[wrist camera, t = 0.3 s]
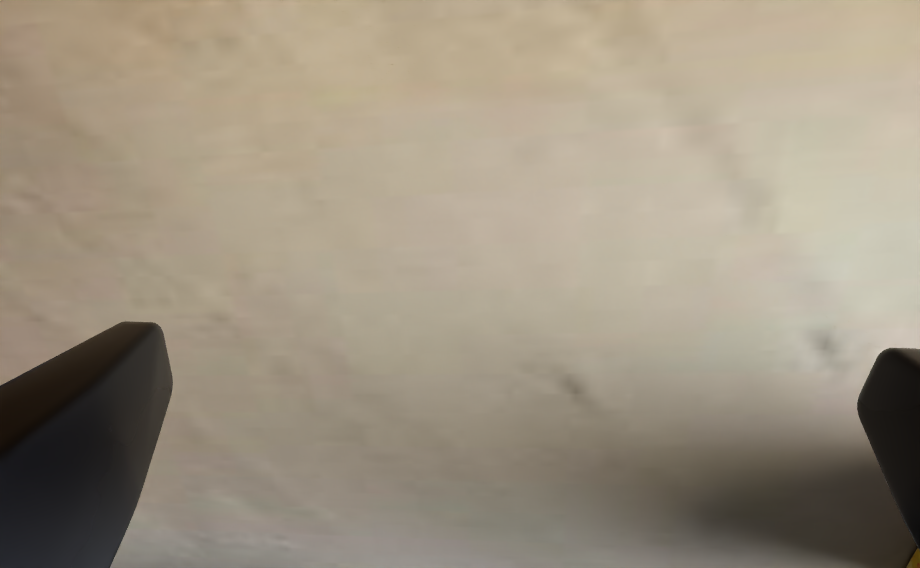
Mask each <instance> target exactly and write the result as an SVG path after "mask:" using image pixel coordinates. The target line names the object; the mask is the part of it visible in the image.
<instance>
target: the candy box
mask: <svg viewBox="0 0 920 568" xmlns="http://www.w3.org/2000/svg"><path fill="white" fill-rule="evenodd" d="M906 568H920V550H919V549H918V548H917V549H916V551H915V553H914V555H913V557H912V558H911V560H910V562H909V564H908V566H907V567H906Z"/></svg>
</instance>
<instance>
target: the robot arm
mask: <svg viewBox="0 0 920 568" xmlns="http://www.w3.org/2000/svg"><path fill="white" fill-rule="evenodd" d="M172 386H173V380H172V373H171V368H170V363H169V358H168V353H167V348H166V343H165V338H164V334H163V331H162V329H161V327H160V326H159V325H158V324H156V323H153V322H121V323H119V324H117V325H115V326H113V327H111V328H109V329H107V330H105V331H104V332H102V333H100V334H98V335H96V336H94V337H92V338H90V339H88V340H86V341H85V342H83V343H81V344H79V345H77V346H75V347H73V348H71V349H69V350H67V351H65V352H64V353H62V354H60V355H58V356H56V357H54V358H52V359H50V360H48V361H46V362H45V363H43V364H41V365H39V366H37V367H35V368H33V369H31V370H29V371H27V372H25V373H24V374H22V375H20V376H18V377H16V378H14V379H12V380H10V381H8V382H6V383H5V384H3V385H1V386H0V568H110V566H111V564H112V562H113V559H114V557H115V555H116V553H117V550H118V548H119V546H120V544H121V541H122V539H123V537H124V535H125V532H126V530H127V528H128V525H129V523H130V521H131V518H132V516H133V513H134V511H135V508H136V506H137V503H138V500H139V497H140V494H141V491H142V488H143V485H144V482H145V479H146V475H147V472H148V469H149V466H150V463H151V459H152V456H153V453H154V450H155V446H156V443H157V440H158V437H159V433H160V430H161V427H162V424H163V421H164V417H165V414H166V411H167V408H168V404H169V401H170V398H171V394H172ZM857 410H858V415H859V418H860V421H861V423H862V425H863V428H864V430H865V432H866V435H867V437H868V439H869V442H870V444H871V446H872V449H873V451H874V453H875V456H876V458H877V460H878V463H879V465H880V467H881V470H882V472H883V474H884V477H885V479H886V481H887V484H888V486H889V488H890V491H891V493H892V495H893V498H894V500H895V502H896V505H897V507H898V509H899V511H900V513H901V516H902V518H903V520H904V522H905V524H906V526H907V528H908V530H909V532H910V534H911V536H912V538H913V539H914V541H915V543H916V545H917V547H918V549H919V550H920V349H910V348H889V349H886V350H884V351H882V352H881V353H880V354H879V355H878V357H877V359H876V361H875V363H874V365H873V367H872V369H871V371H870V374H869V376H868V378H867V380H866V382H865V384H864V386H863V388H862V390H861V393H860V395H859V397H858V402H857Z"/></svg>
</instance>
